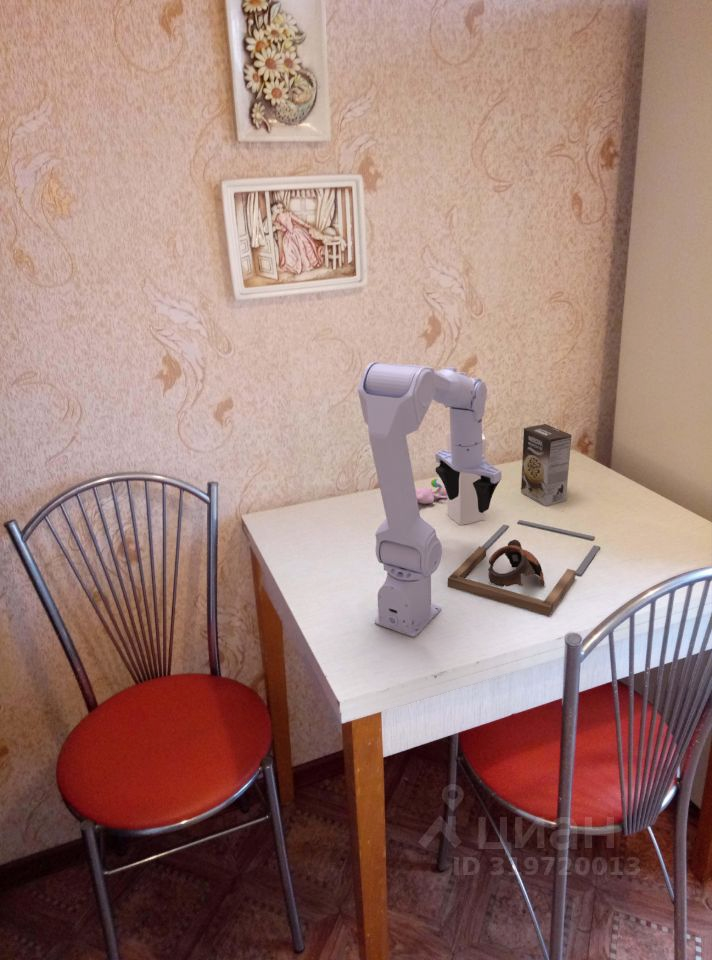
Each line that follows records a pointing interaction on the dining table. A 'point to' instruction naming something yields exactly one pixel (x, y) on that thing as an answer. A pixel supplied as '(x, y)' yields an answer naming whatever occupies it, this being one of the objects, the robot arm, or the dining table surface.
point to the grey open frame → (548, 528)
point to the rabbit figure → (431, 493)
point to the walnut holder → (505, 596)
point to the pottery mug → (515, 565)
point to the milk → (465, 495)
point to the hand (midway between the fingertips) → (468, 504)
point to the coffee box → (545, 464)
